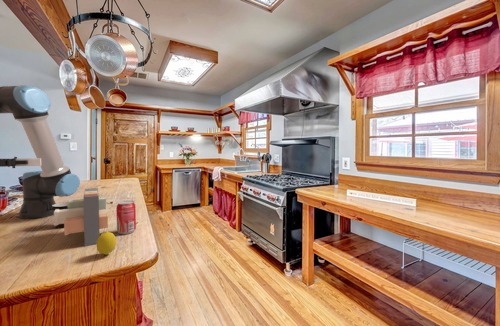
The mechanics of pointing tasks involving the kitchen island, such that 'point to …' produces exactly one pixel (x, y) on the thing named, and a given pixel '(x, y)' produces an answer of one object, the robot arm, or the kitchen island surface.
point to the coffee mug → (60, 207)
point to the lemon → (106, 243)
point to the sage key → (81, 203)
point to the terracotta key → (82, 224)
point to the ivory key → (67, 214)
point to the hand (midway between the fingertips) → (40, 162)
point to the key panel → (91, 216)
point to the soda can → (126, 217)
